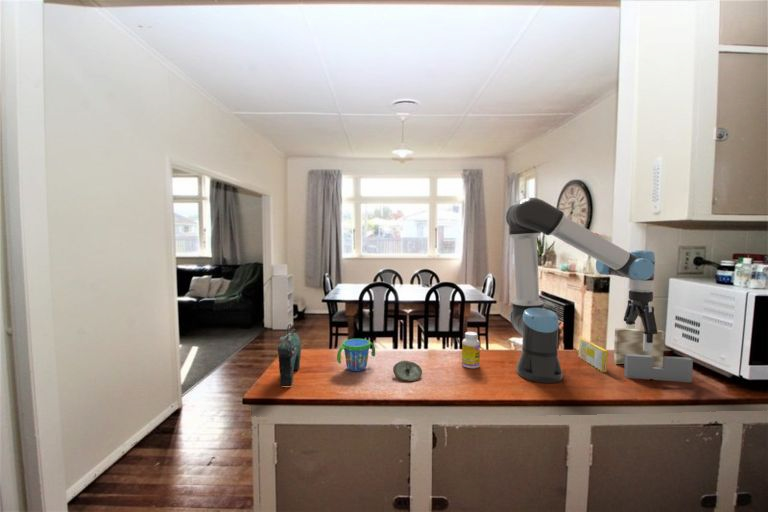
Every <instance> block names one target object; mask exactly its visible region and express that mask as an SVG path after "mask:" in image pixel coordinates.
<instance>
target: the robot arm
mask: <svg viewBox="0 0 768 512" xmlns="http://www.w3.org/2000/svg"><path fill="white" fill-rule="evenodd" d="M565 215H566V214H565V212H564V211H562V210H560V209H559V208H557V207H555V206H554V205H551V204H550V203H548V202H546V201H545V200H542V199H540V198H536V197H527V198H523V199H521V200H518V201H517V200H516V202H514V203H512V204H511V205H510V206H509V207H508V209H507V211H506V213H505V220H506V223H507V225H508V231H509V232H508V233H509V236H510V237H511V238H512V239H513V254H514V255H513V256H514V279H515V282H514V283H515V285H514V286H515V298H514V300H512V302H511V303H512V304H511V305H512V306H511V307H512V308H511V310H510V313H509V314H510V315H509V320H510V323H511V325H512V327H513V328H514V330H515V331H517V332H518V333H519V334H520V335H521V336H522V351H521V354H520V357H519V359H518V362H517V364H516V373H517V375H518V376H520V377H522V378H524V379H526V380H529V381H532V382H535V383H544V384H555V383H558V382H561V381H562V380H563V370H562V367H561V363H560V360H559V357H558V345H559V327H560V323H559V316H558V314H557V313H556V312H554V311H553V310H551V309H547V308H544V307H545V305H544V304H545V303H544V301H543V300H541V298H540V288H539V263H538V262H539V258H538V255H539V254H538V238H539V236H540V235H541V234H543V235H546V236H554V237H555V238H557V239H559V240H561V241H562V242H564V243H565V244H568V245H570V246H572V247H573V248H575V249H577V250H578V251H581V252H582V253H584V254H586V255H588V256H589V257H591V258H593V259H595V269H596V272H597V273H598V274H599V275H603V276H618V277H621V278H626V279H627V278H628V281H629V282H628V289H629V290H628V300H627V306H626V310H625V313H624V317H623V321H624V322H625V324H626V329H636V320H637V318H638V317H639V318H640V319H641V323H642V327H643V330H645V332H644V338H643V351H652V347H653V334H657V333H658V332H657V330H658V328H657V322H656V317H655V307H654V306H650V305H649V303H651V302H653V300H654V292H653V290H654V285H655V282H654V280H655V269H656V268H655V265H656V257H655V252H654V251H652V250H646V249H645V250H643V249H642V250H640V249H639V250H631V251H630V252H629V251H628V250H626V249H624V248H622V247H620V246H618V245H616V244H615V243H613V242H611V241H610V240H608V239H606V238H605V237H602V236H600V235H599V234H597V233H596V232H593V231H591V230H589V229H588V228H586V227H585V226H582V225H581V224H579V223H578V222H575V221H573V220H572V219H570V218H568V217H566V216H565Z"/></svg>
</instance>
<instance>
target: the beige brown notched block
mask: <svg viewBox="0 0 768 512" xmlns="http://www.w3.org/2000/svg"><path fill="white" fill-rule="evenodd" d="M644 332H645V330H644V329H640V328H639V329H638V328H635V329H627V328H619V327H618V328H616V327H615V328H614V344H613V345H614V347H613V364H614V363H616V364H625V354H635V355H650V356H652V357H653V366H655V367H662V364H663V356H664V348H665V347H664V344H665V331H663V330H659V329H657V332H658V333H657V334H653V347H652V351H643V338H644ZM616 364H615V365H616Z"/></svg>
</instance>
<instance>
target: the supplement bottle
mask: <svg viewBox="0 0 768 512" xmlns="http://www.w3.org/2000/svg"><path fill="white" fill-rule="evenodd" d="M461 342H462V343H461V345H462V348H461V364H462V367H464V368H467V369H478V368H479V367H480V360H481V359H480V356H481V354H480V353H481V352H480V351H481V342H480V340H478V333H477V332H475V331H466V332H465V333H464V338H463V339H462V341H461Z"/></svg>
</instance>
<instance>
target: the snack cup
mask: <svg viewBox="0 0 768 512" xmlns="http://www.w3.org/2000/svg"><path fill="white" fill-rule="evenodd" d="M370 348H371V351H370V353H371V354H370V355H371V356H372V357H375V356H376V346H375V345H374V344H373V342H371V341H370V340H368V339H365V338H350V339H349V338H348V339H346V340H344V341H343V342H342V345H341V346H340V347H339V349H338V350H337V353H336V360H337V363H338V364H340V365H341V363H342V361H341V360H342V359H341V358H342V357H341V356H342V351H344V357H345V363H346V365H345V366H346V369H347V370H349V371H352V372H361V371H363V370H364V369H365V370H366V369H367V365H368V359H369V350H370Z"/></svg>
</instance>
